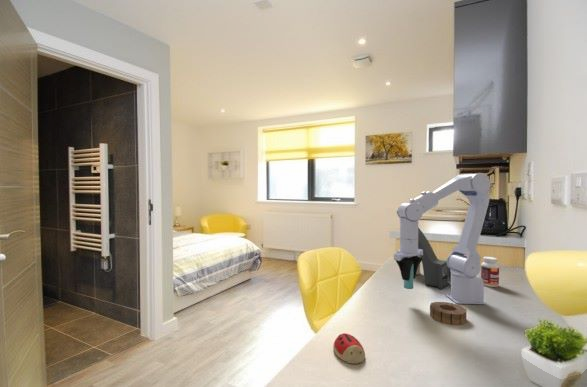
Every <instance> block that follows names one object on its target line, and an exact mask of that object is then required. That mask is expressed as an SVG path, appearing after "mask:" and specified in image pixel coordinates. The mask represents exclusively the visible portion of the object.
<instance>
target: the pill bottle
mask: <svg viewBox="0 0 587 387" xmlns="http://www.w3.org/2000/svg"><path fill="white" fill-rule="evenodd" d="M480 266H481V269H480V277H481V278H482V280H483V283H484V287H490V288H497V287H499V285H500V265H499V264H498V258H496V257H494V256H483V262H481V263H480Z"/></svg>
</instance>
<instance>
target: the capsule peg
mask: <svg viewBox="0 0 587 387" xmlns="http://www.w3.org/2000/svg"><path fill="white" fill-rule="evenodd" d="M413 274H414V264H412V267H411V271H410V279H409V281H407V280H403V288H404V289H406V290H413V289H414V279H413Z"/></svg>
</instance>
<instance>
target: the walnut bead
mask: <svg viewBox="0 0 587 387" xmlns="http://www.w3.org/2000/svg"><path fill="white" fill-rule="evenodd" d="M429 316H430V318H432V319H433V320H435V321H437V322H439V323H442V324H447V325H454V326H455V325H456V326H460V325H464V324H467V309H466V308H465V307H463V306H462V305H461V304H457V303H453V302H447V301H435V302H434V301H433V302H431V303H430V304H429Z"/></svg>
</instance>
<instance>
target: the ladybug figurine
mask: <svg viewBox="0 0 587 387" xmlns="http://www.w3.org/2000/svg"><path fill="white" fill-rule="evenodd" d="M332 349H333V351H334V353H335V355H336V356H337V358H339V359H340V360H342V361H344V362H345V363H348V364H351V365H353V364H354V365H358V364H361V363H363V362H364V360H365V359H366V352H365V349H364V346H363V345H362V344H361V343H360V341H359V340H358V339H357V338H356V337H355V336H353V335H352V334H349V333H345V332H344V333H341V334H339V335H338V336H337V337H336V338H335V340H334V341H333V348H332Z"/></svg>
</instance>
